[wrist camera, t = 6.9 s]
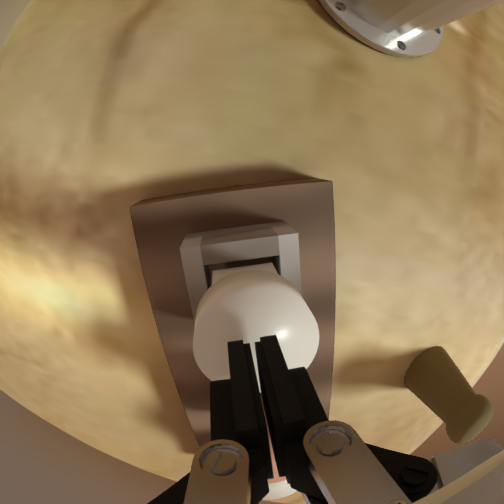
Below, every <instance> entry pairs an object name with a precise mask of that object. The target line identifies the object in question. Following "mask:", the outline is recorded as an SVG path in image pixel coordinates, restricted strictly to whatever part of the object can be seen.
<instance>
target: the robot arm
mask: <svg viewBox="0 0 504 504" xmlns="http://www.w3.org/2000/svg"><path fill="white" fill-rule="evenodd" d="M319 2H320V3H321V4H322V6H323V7H324V9H325V10H326V11H327V13H328V14H329V15H330V16H331V17H332V18H333V19H334V20H335V21H336V22H337V23H338V24H339V25H340V26H341V27H343V28H344V29H345V30H346V31H347V32H348V33H350V34H351V35H353V36H354V37H355V38H357V39H358V40H360V41H361V42H363V43H365V44H366V45H368V46H370V47H372V48H374V49H376V50H378V51H381V52H383V53H386V54H388V55H393V56H397V57H404V58H413V57H419V56H422V55H425V54H427V53H430V52H431V51H433V50H434V49H435V48H437V46H438V45H439V43H440V42H441V40H442V37H443V30H444V25H446V24H448V23H451V22H453V21H455V20H458V19H460V18H462V17H465V16H467V15H470V14H472V13H475V12H478V11H480V10H483V9H486V8H489V7H491V6H494V5H497V4H500V3H503V2H504V0H319ZM227 346H228V358H229V370H230V379H224V380H216V381H210V430H211V442H208V443H206V444H204V445H203V446H201V447H200V448H199V449H198V450H197V451H196V453H195V455H194V458H193V462H192V466H191V471H190V472H189V473H188V474H187V475H186V476H184V477H183V478H182V479H180V480H179V481H178V482H177V483H175V484H174V485H173V486H171V487H170V488H169V489H167V490H166V491H164V492H163V493H162V494H160V495H159V496H158V497H156V498H155V499H153V500H152V501H150V502H149V503H148V504H260V501H261V500H262V499H263V498H264V497H265V496H266V495H267V494H268V493H269V492H270V491H269V485H268V480H267V479H273V478H274V475H273V467H272V460H271V452H270V445H269V437H268V430H269V435H270V439H271V444H272V448H273V453H274V457H275V461H276V466H277V470H278V474H279V477H284V476H286V480H287V484H290V487H291V488H293V489H295V490H297V491H299V492H301V493H302V495H303V498H304V500H305V501H306V503H307V504H504V450H503V449H502V446H501V445H500V444H499V442H498V441H496V440H494V439H491V438H484V439H480V440H477V441H475V442H472V443H469V444H466V445H464V446H461V447H458V448H455V449H452V450H449V451H445V452H442V453H439V454H435V455H434V456H433V457H432V458H430V459H424V458H421V457H417V456H412V455H408V454H404V453H400V452H396V451H392V450H388V449H384V448H380V447H377V446H373V445H370V444H366V443H364V441H363V440H362V439H361V438H360V436H359V435H358V434H357V432H356V431H355V430H354V429H353V428H352V427H351V426H350V425H348V424H346V423H344V422H340V421H329V420H328V418H327V415H326V413H325V411H324V409H323V406H322V404H321V402H320V400H319V397H318V395H317V393H316V390H315V388H314V386H313V384H312V381H311V379H310V377H309V374H308V372H307V370H306V368H305V367H304V366H303V367H299V368H293V369H288V367H287V364H286V362H285V359H284V356H283V353H282V350H281V348H280V345H279V342H278V339H277V336H276V335H270V336H264V337H260V341H259V342H255V351H256V358H257V366H258V374H259V381H260V389H261V395H260V391H259V386H258V381H257V376H256V372H255V367H254V362H253V357H252V352H251V347H250V343H246V344H243V340H237V341H230V342H227ZM261 396H262V400H261ZM262 402H263V405H262ZM263 407H264V409H263ZM264 412H265V414H264ZM265 416H266V419H265ZM266 421H267V424H266ZM267 426H268V430H267Z"/></svg>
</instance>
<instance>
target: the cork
mask: <svg viewBox="0 0 504 504" xmlns="http://www.w3.org/2000/svg"><path fill="white" fill-rule="evenodd" d="M404 384H405V385H406V387H407V388H408V389H409V390H410V391H412V392H413V393H414V394H415V395H416V396H417V397H418V398H419V399H420V400H421V401H422V402H423V403H424V404H426V405H427V406H428V407H429V408H430V409H431V410H432V411H433V412H434V413H435V414H436V415H437V416H438V417H440V418H441V419H442V420H443V421H444V422H445V423H446V431H447V434H448V436H449V438H450V439H451V440H452V441H453V442H455V443H459V444H463V443H466V442H468V441H470V440H472V439H473V438H474V437H475V436H477V435H478V434H479V433H480V432H481V431H482V430H483V429H484V428H485V427H486V425H487V424H488V423H489V421H490V420H491V417H492V415H493V406H492V403H491V401H490V400H489V399H488V398H486V397H484V396H483V395H478V394H475V392H474V391H473V389H472V388H471V386H470V385H469V383H468V382H467V380H466V379H465V377H464V376H463V374H462V373H461V372H460V370H459V369H458V367H457V366H456V365H455V363H454V362H453V360H452V359H451V358H450V356H449V355H448V354H447V352H446V351H445V349H443V348H442V347H440V346H435V347H432V348H429V349H427V350H426V351H424V352H422V353H421V354H420V355H419V356H418V357H417V358H416V359H415V360H414V361H413V362H412V363H411V365H410V366H409V368H408V370H407V371H406V374H405V377H404Z"/></svg>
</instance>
